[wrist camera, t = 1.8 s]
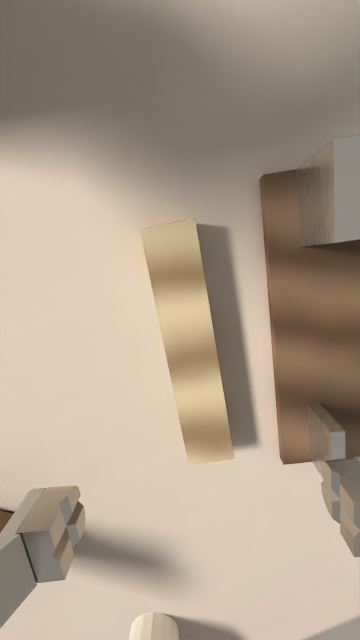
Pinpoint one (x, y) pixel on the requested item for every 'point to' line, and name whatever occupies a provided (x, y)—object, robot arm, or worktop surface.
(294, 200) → the base board
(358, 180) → the end caps
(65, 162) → the worktop surface
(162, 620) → the white cylinder
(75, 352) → the worktop surface
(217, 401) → the pine slat
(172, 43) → the worktop surface
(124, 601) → the worktop surface
